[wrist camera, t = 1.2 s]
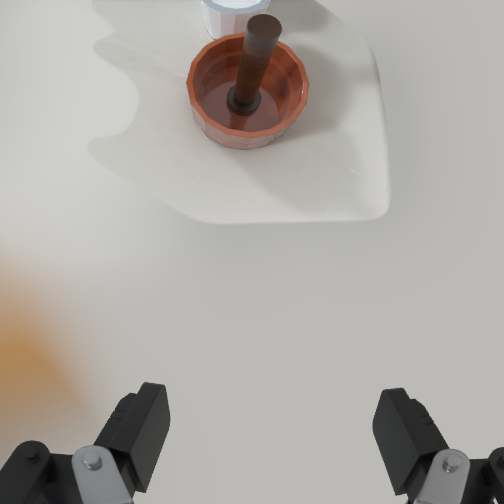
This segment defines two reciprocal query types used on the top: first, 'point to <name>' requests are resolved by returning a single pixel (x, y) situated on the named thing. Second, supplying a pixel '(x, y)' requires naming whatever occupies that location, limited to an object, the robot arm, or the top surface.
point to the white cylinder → (230, 15)
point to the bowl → (271, 89)
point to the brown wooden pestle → (253, 63)
